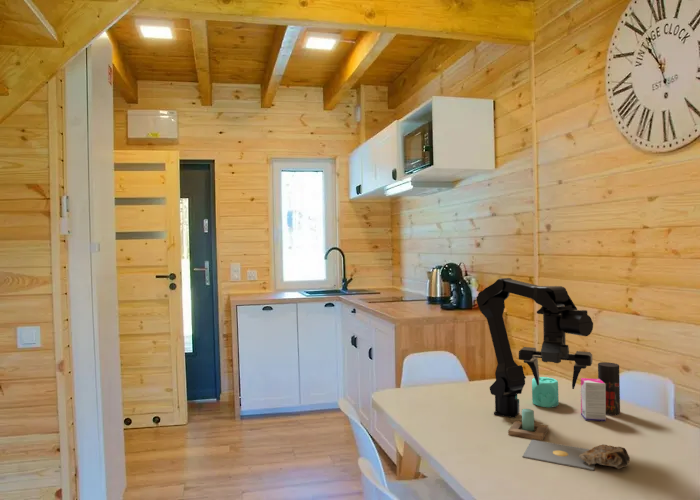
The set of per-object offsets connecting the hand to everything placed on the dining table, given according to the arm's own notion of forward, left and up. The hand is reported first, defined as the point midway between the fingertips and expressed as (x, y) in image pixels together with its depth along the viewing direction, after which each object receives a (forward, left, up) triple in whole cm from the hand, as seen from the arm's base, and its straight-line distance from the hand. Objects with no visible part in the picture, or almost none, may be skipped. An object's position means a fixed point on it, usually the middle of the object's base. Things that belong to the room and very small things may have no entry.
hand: (555, 386), depth 138 cm
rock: (+13, -16, -13) cm, 25 cm away
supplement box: (+8, +18, -13) cm, 24 cm away
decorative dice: (-7, +26, -13) cm, 30 cm away
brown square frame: (-7, -3, -13) cm, 15 cm away
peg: (-7, -3, -13) cm, 15 cm away
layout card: (+3, -15, -13) cm, 20 cm away
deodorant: (+12, +26, -13) cm, 32 cm away
